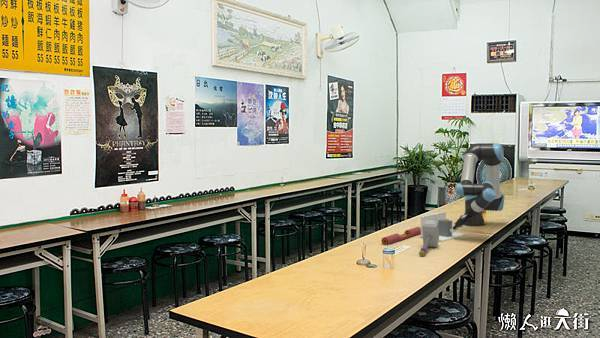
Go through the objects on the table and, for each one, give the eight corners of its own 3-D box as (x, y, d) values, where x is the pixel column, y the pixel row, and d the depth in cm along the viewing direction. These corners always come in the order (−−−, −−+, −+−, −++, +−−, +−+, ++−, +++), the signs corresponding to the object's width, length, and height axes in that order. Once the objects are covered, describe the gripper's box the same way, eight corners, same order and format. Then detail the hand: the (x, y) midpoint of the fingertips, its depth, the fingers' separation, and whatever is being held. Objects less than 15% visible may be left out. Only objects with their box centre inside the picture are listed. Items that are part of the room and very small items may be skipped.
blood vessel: (415, 233, 350) (415, 226, 350) (421, 234, 347) (421, 227, 346) (381, 244, 319) (381, 236, 318) (388, 246, 315) (388, 237, 315)
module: (442, 234, 340) (442, 217, 339) (452, 235, 334) (452, 219, 334) (438, 235, 336) (438, 218, 336) (447, 237, 331) (447, 220, 330)
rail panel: (443, 232, 351) (443, 211, 350) (465, 235, 339) (465, 214, 338) (420, 238, 334) (420, 216, 333) (442, 241, 322) (442, 219, 321)
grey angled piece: (427, 242, 282) (438, 219, 308) (413, 241, 285) (424, 219, 311) (429, 267, 287) (439, 242, 312) (415, 265, 290) (426, 241, 316)
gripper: (473, 214, 312) (449, 238, 325) (484, 211, 320) (460, 234, 334) (465, 204, 315) (442, 228, 329) (476, 202, 324) (453, 225, 338)
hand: (451, 231), depth 331 cm, fingers closed
